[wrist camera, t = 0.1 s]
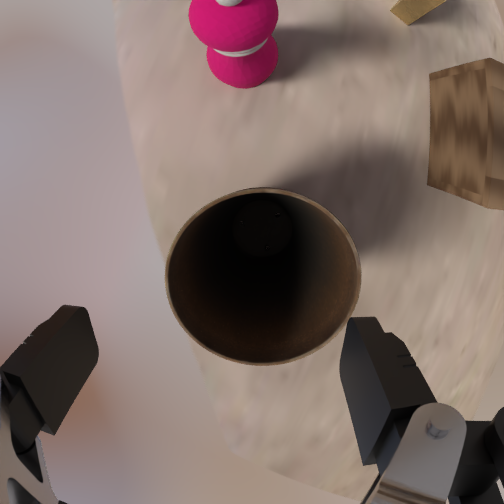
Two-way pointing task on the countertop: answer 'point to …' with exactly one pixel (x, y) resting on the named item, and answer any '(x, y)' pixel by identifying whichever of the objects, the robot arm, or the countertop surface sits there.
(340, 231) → the plant pot
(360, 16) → the countertop surface
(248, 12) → the pepper mill
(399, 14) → the beige rectangular block
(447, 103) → the wooden box
